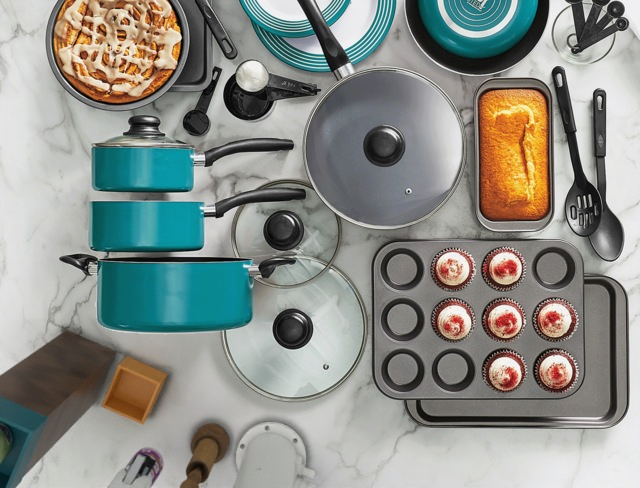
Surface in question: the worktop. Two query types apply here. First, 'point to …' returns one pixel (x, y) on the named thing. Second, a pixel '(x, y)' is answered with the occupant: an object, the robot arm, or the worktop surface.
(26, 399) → the riser
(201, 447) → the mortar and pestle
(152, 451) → the pill bottle
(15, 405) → the teal bin
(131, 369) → the amber bin
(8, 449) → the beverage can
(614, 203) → the worktop surface
